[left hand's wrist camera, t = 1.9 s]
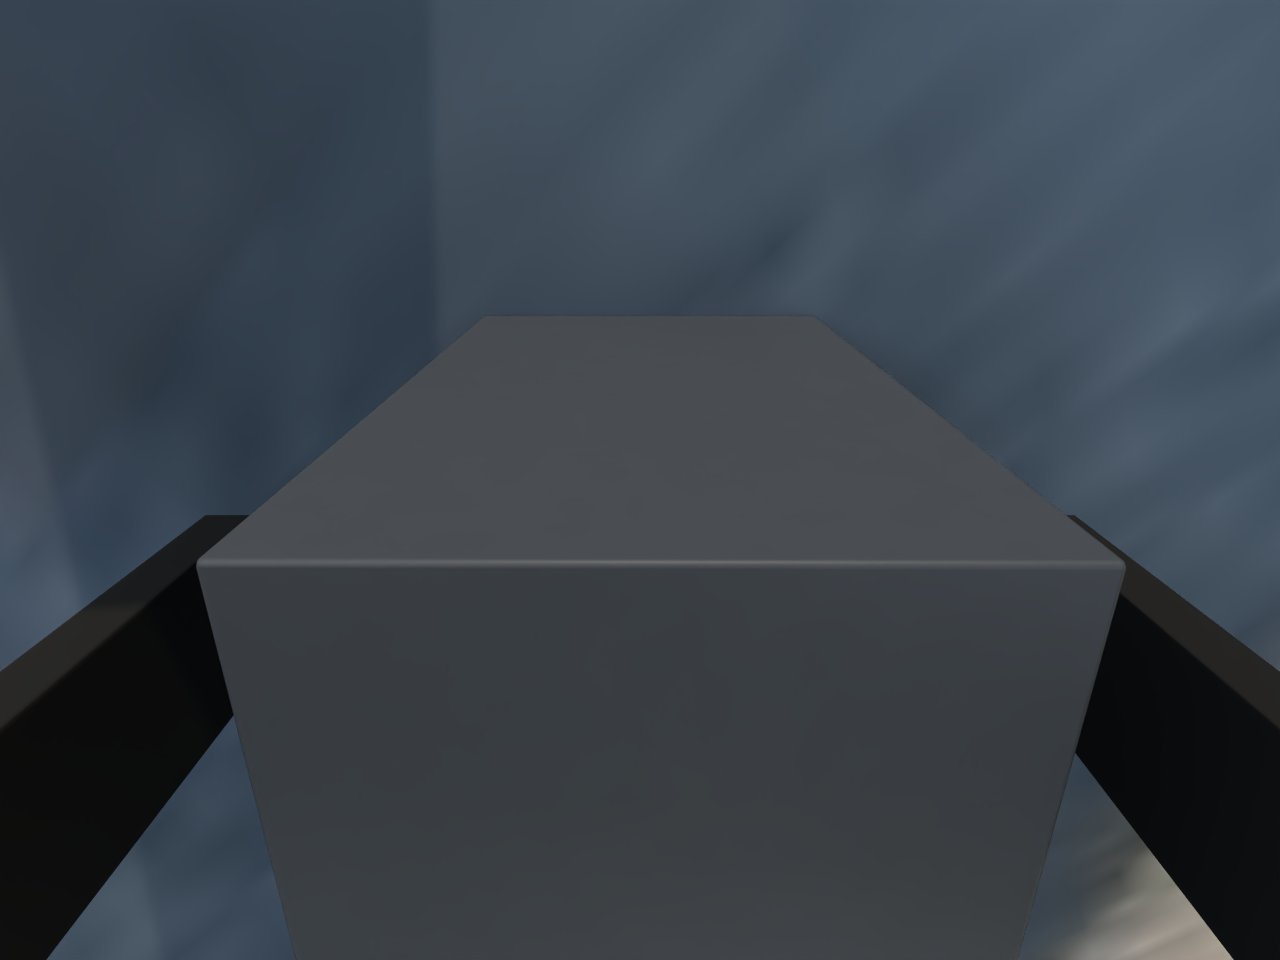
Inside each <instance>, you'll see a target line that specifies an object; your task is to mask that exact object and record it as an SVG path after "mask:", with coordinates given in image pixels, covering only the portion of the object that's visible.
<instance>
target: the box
mask: <svg viewBox="0 0 1280 960" xmlns="http://www.w3.org/2000/svg"><path fill="white" fill-rule="evenodd" d="M196 568H197V572H198V576H199V580H200V584H201V588H202V592H203V596H204V600H205V604H206V608H207V612H208V615H209V619H210V623H211V627H212V631H213V635H214V639H215V643H216V647H217V651H218V655H219V659H220V663H221V667H222V671H223V675H224V678H225V682H226V686H227V690H228V694H229V698H230V702H231V706H232V710H233V714H234V718H235V722H236V726H237V730H238V734H239V738H240V741H241V745H242V749H243V753H244V757H245V761H246V765H247V769H248V773H249V777H250V781H251V785H252V789H253V793H254V797H255V800H256V804H257V808H258V812H259V816H260V820H261V824H262V828H263V832H264V836H265V840H266V844H267V848H268V852H269V856H270V860H271V863H272V867H273V871H274V875H275V879H276V883H277V887H278V891H279V895H280V899H281V903H282V907H283V911H284V915H285V919H286V922H287V926H288V930H289V934H290V938H291V942H292V946H293V950H294V954H295V958H296V960H1017V959H1018V955H1019V952H1020V948H1021V945H1022V941H1023V937H1024V934H1025V930H1026V927H1027V923H1028V919H1029V916H1030V912H1031V909H1032V905H1033V901H1034V898H1035V894H1036V891H1037V887H1038V883H1039V880H1040V876H1041V873H1042V869H1043V865H1044V862H1045V858H1046V855H1047V851H1048V848H1049V844H1050V840H1051V837H1052V833H1053V830H1054V826H1055V822H1056V819H1057V815H1058V812H1059V808H1060V804H1061V801H1062V797H1063V794H1064V790H1065V786H1066V783H1067V779H1068V776H1069V772H1070V769H1071V765H1072V761H1073V758H1074V754H1075V751H1076V747H1077V743H1078V740H1079V736H1080V733H1081V729H1082V725H1083V722H1084V718H1085V715H1086V711H1087V707H1088V704H1089V700H1090V697H1091V693H1092V690H1093V686H1094V682H1095V679H1096V675H1097V672H1098V668H1099V664H1100V661H1101V657H1102V654H1103V650H1104V646H1105V643H1106V639H1107V636H1108V632H1109V628H1110V625H1111V621H1112V618H1113V614H1114V610H1115V607H1116V603H1117V600H1118V596H1119V593H1120V589H1121V585H1122V582H1123V578H1124V575H1125V571H1126V565H1125V562H1124V561H1123V560H1122V559H1121V558H1119V557H1118V556H1117V555H1116V554H1114V553H1113V552H1112V551H1111V550H1109V549H1108V548H1107V547H1105V546H1104V545H1103V544H1102V543H1100V542H1099V541H1098V540H1097V539H1095V538H1094V537H1093V536H1092V535H1090V534H1089V533H1088V532H1086V531H1085V530H1084V529H1083V528H1081V527H1080V526H1079V525H1078V524H1076V523H1075V522H1074V521H1073V520H1071V519H1070V518H1069V517H1068V516H1066V515H1065V514H1064V513H1062V512H1061V511H1060V510H1059V509H1057V508H1056V507H1055V506H1054V505H1052V504H1051V503H1050V502H1049V501H1047V500H1046V499H1045V498H1044V497H1042V496H1041V495H1040V494H1038V493H1037V492H1036V491H1035V490H1033V489H1032V488H1031V487H1030V486H1028V485H1027V484H1026V483H1025V482H1023V481H1022V480H1021V479H1020V478H1018V477H1017V476H1016V475H1014V474H1013V473H1012V472H1011V471H1009V470H1008V469H1007V468H1006V467H1004V466H1003V465H1002V464H1001V463H999V462H998V461H997V460H995V459H994V458H993V457H992V456H990V455H989V454H988V453H987V452H985V451H984V450H983V449H982V448H980V447H979V446H978V445H977V444H975V443H974V442H973V441H971V440H970V439H969V438H968V437H966V436H965V435H964V434H963V433H961V432H960V431H959V430H958V429H956V428H955V427H954V426H953V425H951V424H950V423H949V422H947V421H946V420H945V419H944V418H942V417H941V416H940V415H939V414H937V413H936V412H935V411H934V410H932V409H931V408H930V407H928V406H927V405H926V404H925V403H923V402H922V401H921V400H920V399H918V398H917V397H916V396H915V395H913V394H912V393H911V392H910V391H908V390H907V389H906V388H904V387H903V386H902V385H901V384H899V383H898V382H897V381H896V380H894V379H893V378H892V377H891V376H889V375H888V374H887V373H886V372H884V371H883V370H882V369H880V368H879V367H878V366H877V365H875V364H874V363H873V362H872V361H870V360H869V359H868V358H867V357H865V356H864V355H863V354H862V353H860V352H859V351H858V350H856V349H855V348H854V347H853V346H851V345H850V344H849V343H848V342H846V341H845V340H844V339H843V338H841V337H840V336H839V335H837V334H836V333H835V332H834V331H832V330H831V329H830V328H829V327H827V326H826V325H825V324H824V323H822V322H821V321H820V320H819V319H817V318H816V317H814V316H484V317H483V318H482V319H481V320H479V321H478V322H477V323H476V324H475V325H474V326H472V327H471V328H470V329H469V330H468V331H466V332H465V333H464V334H463V335H462V336H461V337H459V338H458V339H457V340H456V341H455V342H453V343H452V344H451V345H450V346H449V347H448V348H446V349H445V350H444V351H443V352H442V353H441V354H439V355H438V356H437V357H436V358H435V359H433V360H432V361H431V362H430V363H429V364H428V365H426V366H425V367H424V368H423V369H422V370H420V371H419V372H418V373H417V374H416V375H415V376H413V377H412V378H411V379H410V380H409V381H408V382H406V383H405V384H404V385H403V386H402V387H400V388H399V389H398V390H397V391H396V392H395V393H393V394H392V395H391V396H390V397H389V398H387V399H386V400H385V401H384V402H383V403H382V404H380V405H379V406H378V407H377V408H376V409H375V410H373V411H372V412H371V413H370V414H369V415H367V416H366V417H365V418H364V419H363V420H362V421H360V422H359V423H358V424H357V425H356V426H354V427H353V428H352V429H351V430H350V431H349V432H347V433H346V434H345V435H344V436H343V437H342V438H340V439H339V440H338V441H337V442H336V443H334V444H333V445H332V446H331V447H330V448H329V449H327V450H326V451H325V452H324V453H323V454H321V455H320V456H319V457H318V458H317V459H316V460H314V461H313V462H312V463H311V464H310V465H309V466H307V467H306V468H305V469H304V470H303V471H301V472H300V473H299V474H298V475H297V476H296V477H294V478H293V479H292V480H291V481H290V482H288V483H287V484H286V485H285V486H284V487H283V488H281V489H280V490H279V491H278V492H277V493H276V494H274V495H273V496H272V497H271V498H270V499H268V500H267V501H266V502H265V503H264V504H263V505H261V506H260V507H259V508H258V509H257V510H256V511H254V512H253V513H252V514H251V515H250V516H248V517H247V518H246V519H245V520H244V521H243V522H241V523H240V524H239V525H238V526H237V527H235V528H234V529H233V530H232V531H231V532H230V533H228V534H227V535H226V536H225V537H224V538H223V539H221V540H220V541H219V542H218V543H217V544H215V545H214V546H213V547H212V548H211V549H210V550H208V551H207V552H206V553H205V554H204V555H202V556H201V557H200V558H199V559H198V561H197V565H196Z"/></svg>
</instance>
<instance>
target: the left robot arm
mask: <svg viewBox="0 0 1280 960" xmlns="http://www.w3.org/2000/svg"><path fill="white" fill-rule="evenodd" d="M248 516H250V515H205V516H204V517H203V518H202V519H200V520H199V521H198V522H196V523H195V524H194V525H192V526H191V527H190V528H188V529H187V530H186V531H184V532H183V533H182V534H181V535H179V536H178V537H177V538H175V539H174V540H173V541H171V542H170V543H169V544H167V545H166V546H165V547H163V548H162V549H161V550H160V551H158V552H157V553H156V554H154V555H153V556H152V557H150V558H149V559H148V560H146V561H145V562H144V563H142V564H141V565H140V566H139V567H137V568H136V569H135V570H133V571H132V572H131V573H129V574H128V575H127V576H125V577H124V578H123V579H121V580H120V581H119V582H118V583H116V584H115V585H114V586H112V587H111V588H110V589H108V590H107V591H106V592H104V593H103V594H102V595H100V596H99V597H98V598H97V599H95V600H94V601H93V602H91V603H90V604H89V605H87V606H86V607H85V608H83V609H82V610H81V611H80V612H78V613H77V614H76V615H74V616H73V617H72V618H70V619H69V620H68V621H66V622H65V623H64V624H62V625H61V626H60V627H59V628H57V629H56V630H55V631H53V632H52V633H51V634H49V635H48V636H47V637H45V638H44V639H43V640H41V641H40V642H39V643H38V644H36V645H35V646H34V647H32V648H31V649H30V650H28V651H27V652H26V653H24V654H23V655H22V656H20V657H19V658H18V659H17V660H15V661H14V662H13V663H11V664H10V665H9V666H7V667H6V668H5V669H3V670H2V671H1V672H0V960H46V959H47V958H48V957H49V955H50V954H51V953H52V951H53V950H54V949H55V948H56V946H57V945H58V944H59V942H60V941H61V940H62V938H63V937H64V936H65V935H66V933H67V932H68V931H69V929H70V928H71V927H72V925H73V924H74V923H75V921H76V920H77V919H78V918H79V916H80V915H81V914H82V912H83V911H84V910H85V908H86V907H87V906H88V904H89V903H90V902H91V901H92V899H93V898H94V897H95V895H96V894H97V893H98V891H99V890H100V889H101V888H102V886H103V885H104V884H105V882H106V881H107V880H108V878H109V877H110V876H111V874H112V873H113V872H114V871H115V869H116V868H117V867H118V865H119V864H120V863H121V861H122V860H123V859H124V857H125V856H126V855H127V854H128V852H129V851H130V850H131V848H132V847H133V846H134V844H135V843H136V842H137V841H138V839H139V838H140V837H141V835H142V834H143V833H144V831H145V830H146V829H147V827H148V826H149V825H150V824H151V822H152V821H153V820H154V818H155V817H156V816H157V814H158V813H159V812H160V810H161V809H162V808H163V807H164V805H165V804H166V803H167V801H168V800H169V799H170V797H171V796H172V795H173V793H174V792H175V791H176V790H177V788H178V787H179V786H180V784H181V783H182V782H183V780H184V779H185V778H186V777H187V775H188V774H189V773H190V771H191V770H192V769H193V767H194V766H195V765H196V763H197V762H198V761H199V760H200V758H201V757H202V756H203V754H204V753H205V752H206V750H207V749H208V748H209V746H210V745H211V744H212V743H213V741H214V740H215V739H216V737H217V736H218V735H219V733H220V732H221V731H222V730H223V728H224V727H225V726H226V724H227V723H228V722H229V720H230V719H231V718H232V716H233V715H234V714H233V710H232V706H231V702H230V698H229V694H228V690H227V686H226V682H225V678H224V675H223V671H222V667H221V663H220V659H219V655H218V651H217V647H216V643H215V639H214V635H213V631H212V627H211V623H210V619H209V615H208V612H207V608H206V604H205V600H204V596H203V592H202V588H201V584H200V580H199V576H198V572H197V568H196V565H197V561H198V559H199V558H200V557H201V556H202V555H204V554H205V553H206V552H207V551H208V550H210V549H211V548H212V547H213V546H214V545H215V544H217V543H218V542H219V541H220V540H221V539H223V538H224V537H225V536H226V535H227V534H228V533H230V532H231V531H232V530H233V529H234V528H235V527H237V526H238V525H239V524H240V523H241V522H243V521H244V520H245V519H246V518H247V517H248ZM1066 516H1068V517H1069V518H1070V519H1071V520H1073V521H1074V522H1075V523H1076V524H1078V525H1079V526H1080V527H1081V528H1083V529H1084V530H1085V531H1086V532H1088V533H1089V534H1090V535H1092V536H1093V537H1094V538H1095V539H1097V540H1098V541H1099V542H1100V543H1102V544H1103V545H1104V546H1105V547H1107V548H1108V549H1109V550H1111V551H1112V552H1113V553H1114V554H1116V555H1117V556H1118V557H1119V558H1121V559H1122V560H1123V561H1124V562H1125V565H1126V571H1125V575H1124V578H1123V582H1122V585H1121V589H1120V593H1119V596H1118V600H1117V603H1116V607H1115V610H1114V614H1113V618H1112V621H1111V625H1110V628H1109V632H1108V636H1107V639H1106V643H1105V646H1104V650H1103V654H1102V657H1101V661H1100V664H1099V668H1098V672H1097V675H1096V679H1095V682H1094V686H1093V690H1092V693H1091V697H1090V700H1089V704H1088V707H1087V711H1086V715H1085V718H1084V722H1083V725H1082V729H1081V733H1080V736H1079V740H1078V743H1077V747H1076V751H1075V753H1076V754H1077V756H1078V757H1079V758H1080V760H1081V761H1082V762H1083V763H1084V765H1085V766H1086V767H1087V769H1088V770H1089V771H1090V773H1091V774H1092V775H1093V776H1094V778H1095V779H1096V780H1097V782H1098V783H1099V784H1100V786H1101V787H1102V788H1103V790H1104V791H1105V792H1106V793H1107V795H1108V796H1109V797H1110V799H1111V800H1112V801H1113V803H1114V804H1115V805H1116V807H1117V808H1118V809H1119V810H1120V812H1121V813H1122V814H1123V816H1124V817H1125V818H1126V820H1127V821H1128V822H1129V823H1130V825H1131V826H1132V827H1133V829H1134V830H1135V831H1136V833H1137V834H1138V835H1139V837H1140V838H1141V839H1142V840H1143V842H1144V843H1145V844H1146V846H1147V847H1148V848H1149V850H1150V851H1151V852H1152V854H1153V855H1154V856H1155V857H1156V859H1157V860H1158V861H1159V863H1160V864H1161V865H1162V867H1163V868H1164V869H1165V870H1166V872H1167V873H1168V874H1169V876H1170V877H1171V878H1172V880H1173V881H1174V882H1175V884H1176V885H1177V886H1178V887H1179V889H1180V890H1181V891H1182V893H1183V894H1184V895H1185V897H1186V898H1187V899H1188V901H1189V902H1190V903H1191V904H1192V906H1193V907H1194V908H1195V910H1196V911H1197V912H1198V914H1199V915H1200V916H1201V918H1202V919H1203V920H1204V921H1205V923H1206V924H1207V925H1208V927H1209V928H1210V929H1211V931H1212V932H1213V933H1214V934H1215V936H1216V937H1217V938H1218V940H1219V941H1220V942H1221V944H1222V945H1223V946H1224V948H1225V949H1226V950H1227V951H1228V953H1229V954H1230V955H1231V957H1232V958H1233V959H1234V960H1280V672H1279V671H1278V670H1277V669H1275V668H1274V667H1273V666H1271V665H1270V664H1269V663H1267V662H1266V661H1265V660H1264V659H1262V658H1261V657H1260V656H1258V655H1257V654H1256V653H1254V652H1253V651H1252V650H1250V649H1249V648H1248V647H1246V646H1245V645H1244V644H1243V643H1241V642H1240V641H1239V640H1237V639H1236V638H1235V637H1233V636H1232V635H1231V634H1229V633H1228V632H1227V631H1225V630H1224V629H1223V628H1222V627H1220V626H1219V625H1218V624H1216V623H1215V622H1214V621H1212V620H1211V619H1210V618H1208V617H1207V616H1206V615H1204V614H1203V613H1202V612H1201V611H1199V610H1198V609H1197V608H1195V607H1194V606H1193V605H1191V604H1190V603H1189V602H1187V601H1186V600H1185V599H1183V598H1182V597H1181V596H1180V595H1178V594H1177V593H1176V592H1174V591H1173V590H1172V589H1170V588H1169V587H1168V586H1166V585H1165V584H1164V583H1162V582H1161V581H1160V580H1159V579H1157V578H1156V577H1155V576H1153V575H1152V574H1151V573H1149V572H1148V571H1147V570H1145V569H1144V568H1143V567H1141V566H1140V565H1139V564H1138V563H1136V562H1135V561H1134V560H1132V559H1131V558H1130V557H1128V556H1127V555H1126V554H1124V553H1123V552H1122V551H1120V550H1119V549H1118V548H1117V547H1115V546H1114V545H1113V544H1111V543H1110V542H1109V541H1107V540H1106V539H1105V538H1103V537H1102V536H1101V535H1099V534H1098V533H1097V532H1096V531H1094V530H1093V529H1092V528H1090V527H1089V526H1088V525H1086V524H1085V523H1084V522H1082V521H1081V520H1080V519H1079V518H1077V517H1076V516H1075V515H1066Z"/></svg>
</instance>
